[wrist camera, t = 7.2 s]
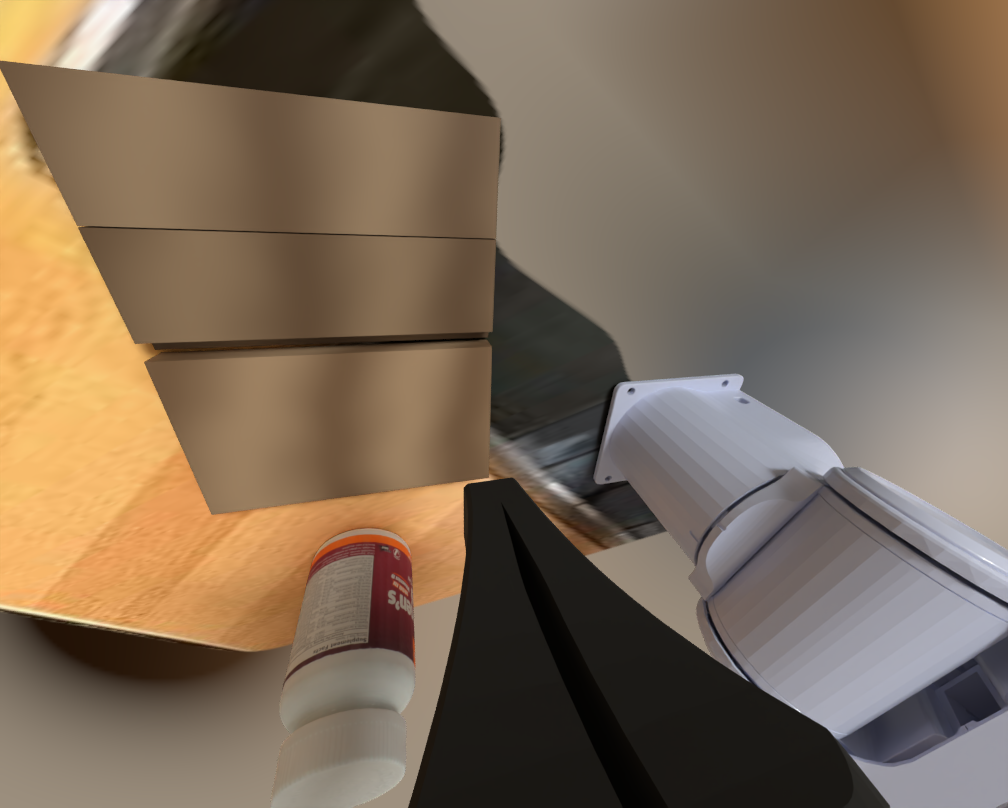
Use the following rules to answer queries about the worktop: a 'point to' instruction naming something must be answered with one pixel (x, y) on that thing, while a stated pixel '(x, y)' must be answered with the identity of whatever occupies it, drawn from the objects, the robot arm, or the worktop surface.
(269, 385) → the plank
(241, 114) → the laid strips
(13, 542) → the worktop surface
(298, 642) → the pill bottle
